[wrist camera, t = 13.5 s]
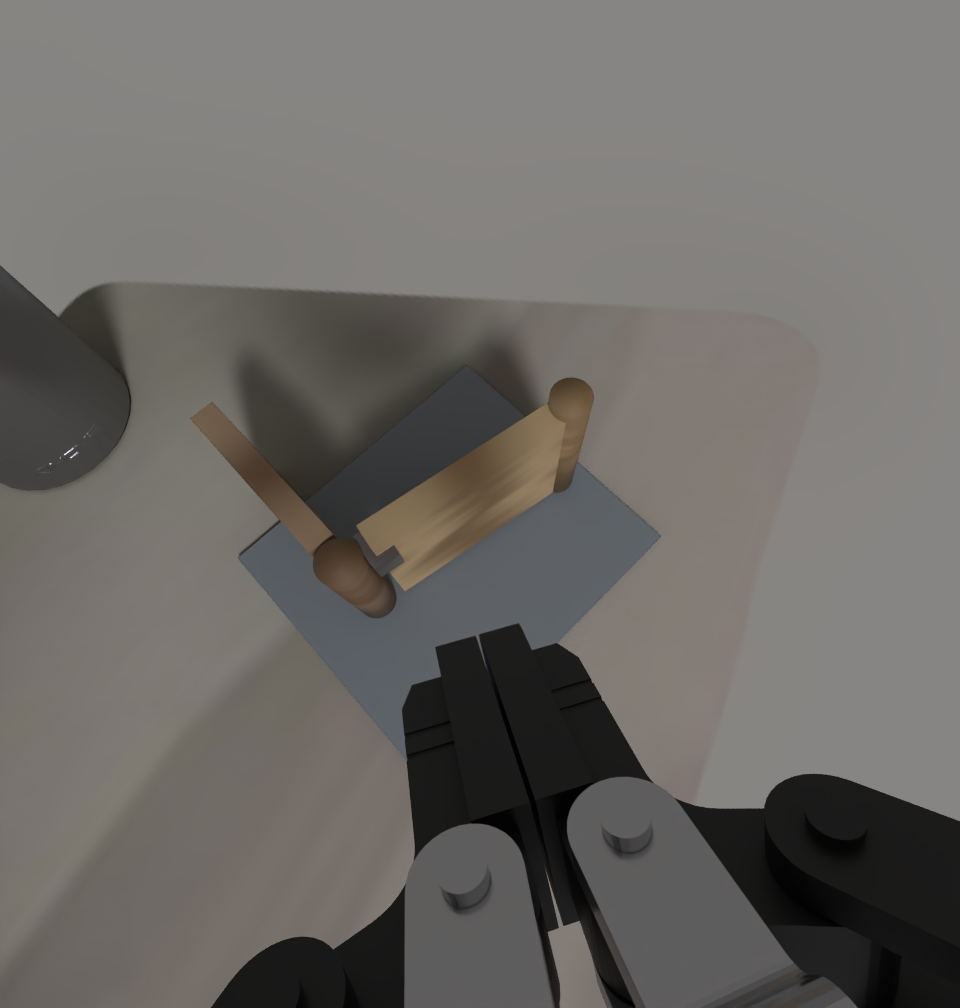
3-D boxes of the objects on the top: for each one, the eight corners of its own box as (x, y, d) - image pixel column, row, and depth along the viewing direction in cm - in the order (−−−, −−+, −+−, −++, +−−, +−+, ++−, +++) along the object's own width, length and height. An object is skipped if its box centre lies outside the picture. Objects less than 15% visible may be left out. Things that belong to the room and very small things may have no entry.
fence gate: (401, 600, 30) (363, 557, 22) (383, 572, 31) (339, 520, 23) (578, 481, 32) (602, 401, 24) (559, 456, 33) (575, 370, 25)
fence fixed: (255, 490, 34) (182, 424, 26) (282, 467, 34) (219, 395, 27) (376, 627, 31) (333, 597, 23) (405, 600, 31) (372, 562, 24)
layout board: (239, 559, 32) (237, 557, 32) (467, 367, 36) (466, 364, 35) (423, 779, 28) (422, 779, 28) (659, 537, 32) (661, 535, 31)
